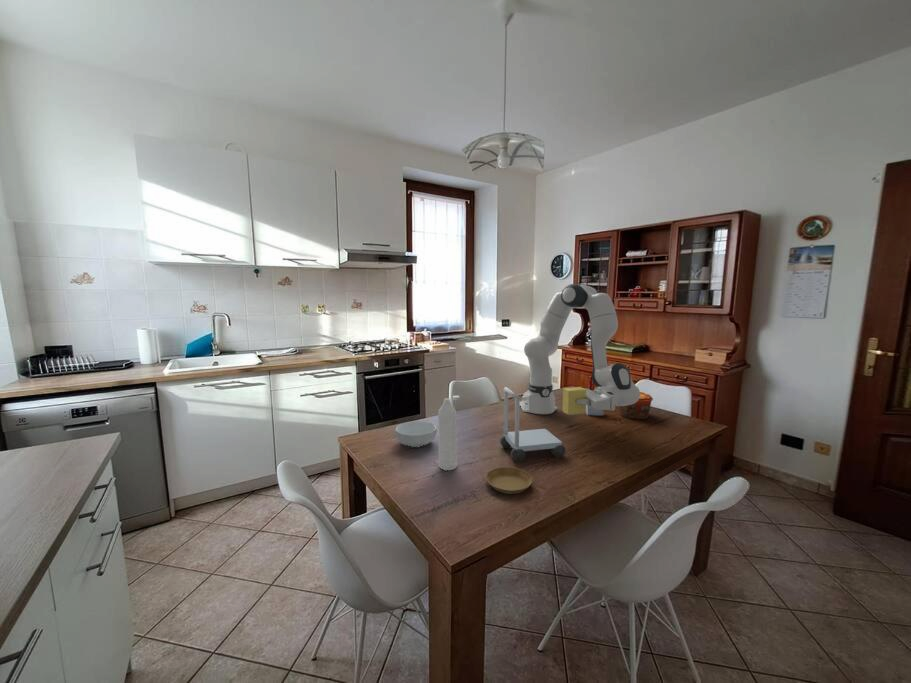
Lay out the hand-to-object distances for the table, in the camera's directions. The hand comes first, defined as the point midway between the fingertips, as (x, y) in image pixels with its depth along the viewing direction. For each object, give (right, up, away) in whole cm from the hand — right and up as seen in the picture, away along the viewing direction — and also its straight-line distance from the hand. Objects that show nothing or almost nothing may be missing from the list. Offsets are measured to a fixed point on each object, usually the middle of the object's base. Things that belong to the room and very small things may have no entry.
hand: (572, 399), depth 150 cm
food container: (+41, -13, +32) cm, 54 cm away
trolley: (-19, -19, -9) cm, 28 cm away
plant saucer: (-31, -23, -33) cm, 51 cm away
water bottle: (-50, -21, -19) cm, 58 cm away
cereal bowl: (-65, -19, 0) cm, 67 cm away
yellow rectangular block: (+1, -5, +1) cm, 6 cm away
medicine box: (+22, -13, +34) cm, 43 cm away
